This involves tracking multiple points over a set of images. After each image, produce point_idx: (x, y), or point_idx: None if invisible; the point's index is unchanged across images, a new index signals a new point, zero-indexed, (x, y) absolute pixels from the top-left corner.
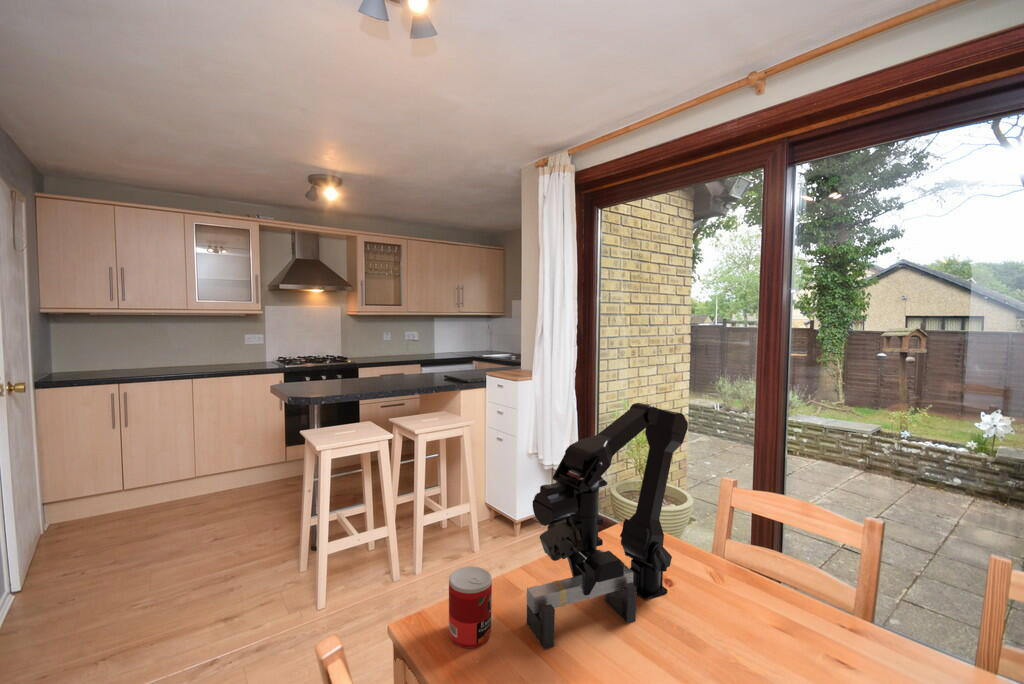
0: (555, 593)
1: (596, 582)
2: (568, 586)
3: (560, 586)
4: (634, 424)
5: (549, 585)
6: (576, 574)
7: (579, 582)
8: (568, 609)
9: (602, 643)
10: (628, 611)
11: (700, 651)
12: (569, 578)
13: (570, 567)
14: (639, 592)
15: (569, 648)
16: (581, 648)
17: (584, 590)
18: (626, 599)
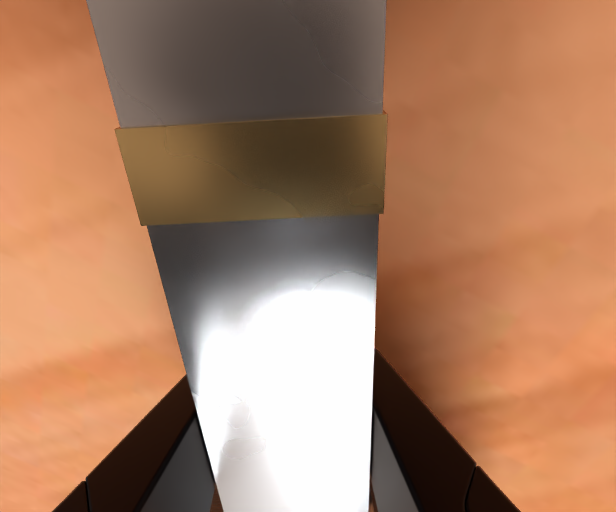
0: (99, 23)
1: (225, 507)
2: (205, 279)
3: (225, 178)
4: None
5: (315, 5)
6: (378, 441)
7: (250, 408)
8: (414, 222)
9: (130, 258)
10: None
11: (55, 499)
12: (361, 354)
13: (463, 470)
14: None
15: None
16: (108, 146)
17: (180, 385)
18: (217, 495)
